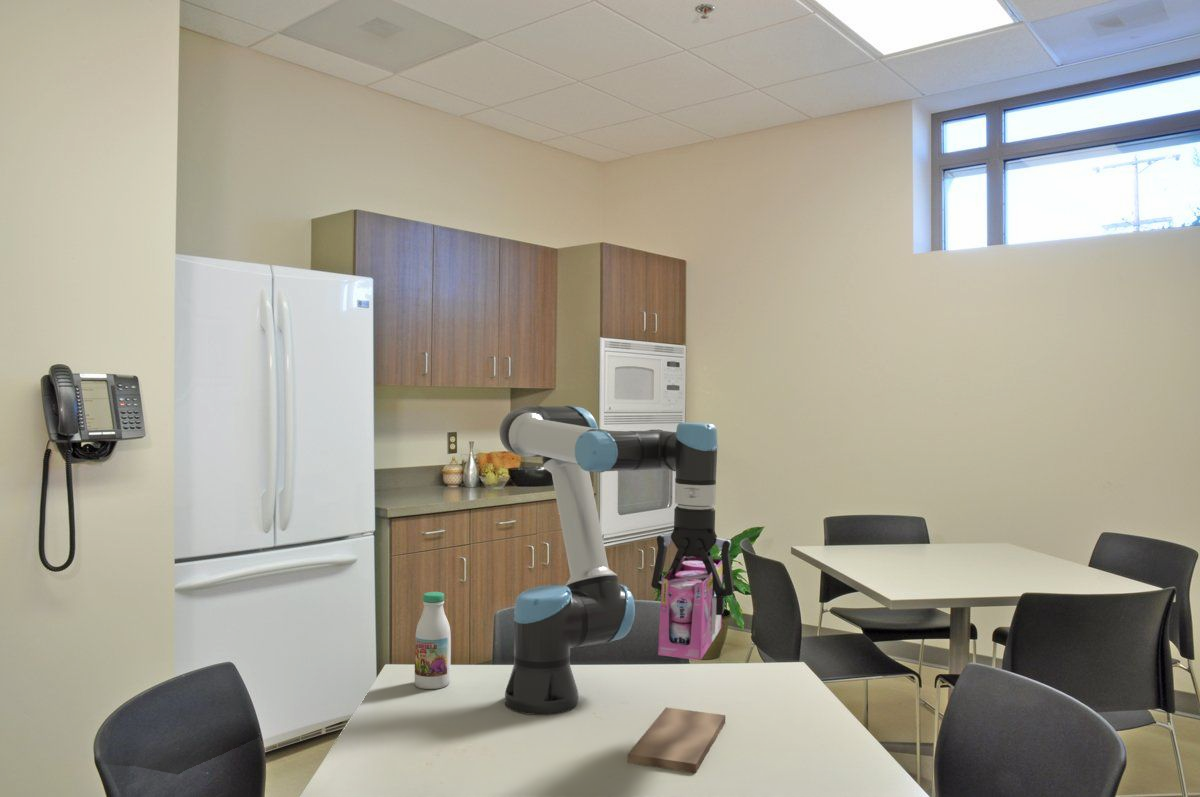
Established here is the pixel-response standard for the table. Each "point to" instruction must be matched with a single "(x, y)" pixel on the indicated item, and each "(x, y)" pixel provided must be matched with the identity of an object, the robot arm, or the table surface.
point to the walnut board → (677, 740)
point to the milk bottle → (432, 644)
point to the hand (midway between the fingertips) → (691, 629)
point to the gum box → (687, 610)
